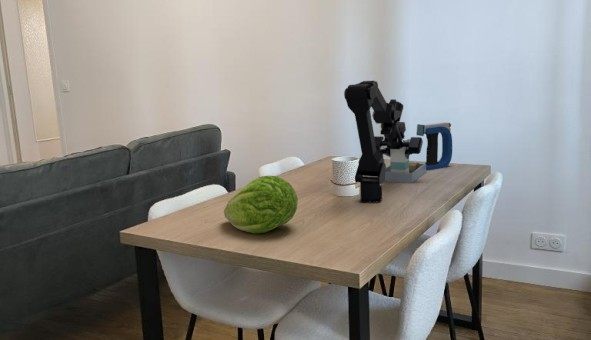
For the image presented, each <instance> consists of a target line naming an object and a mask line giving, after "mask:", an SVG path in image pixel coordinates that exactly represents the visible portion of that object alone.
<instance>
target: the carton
mask: <svg viewBox="0 0 591 340" xmlns="http://www.w3.org/2000/svg"><path fill="white" fill-rule="evenodd" d="M405 149H406V148H405V147H402V148H400V149H390V157H389V158H390V163H389V165H390V169H391V172H395V173H409V162H410V158H409V159H407V158H406V156H405V154H404V153H405Z"/></svg>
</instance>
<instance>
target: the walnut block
mask: <svg viewBox="0 0 591 340" xmlns="http://www.w3.org/2000/svg"><path fill="white" fill-rule="evenodd" d="M419 163H420V162H413V161H412V162H411V161H409V173H412V172H414V171H415V170H416V169H418V168H419Z"/></svg>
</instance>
